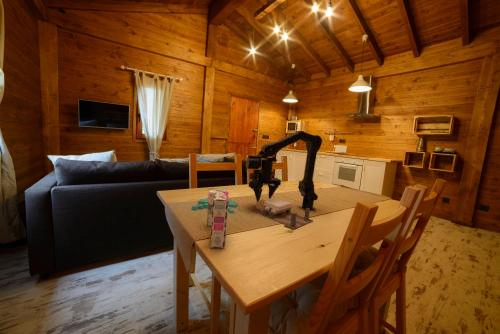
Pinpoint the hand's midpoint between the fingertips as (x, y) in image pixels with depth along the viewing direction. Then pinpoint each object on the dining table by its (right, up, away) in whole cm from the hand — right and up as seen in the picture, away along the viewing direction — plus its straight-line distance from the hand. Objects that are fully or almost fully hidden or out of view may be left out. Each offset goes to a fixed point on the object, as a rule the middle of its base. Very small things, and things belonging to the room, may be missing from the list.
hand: (263, 199), depth 112 cm
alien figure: (-24, -4, +1) cm, 24 cm away
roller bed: (+7, -7, -7) cm, 12 cm away
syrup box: (-21, -7, -23) cm, 32 cm away
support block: (0, -5, +1) cm, 5 cm away
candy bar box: (-18, -9, -35) cm, 41 cm away
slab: (+6, -2, -6) cm, 9 cm away
